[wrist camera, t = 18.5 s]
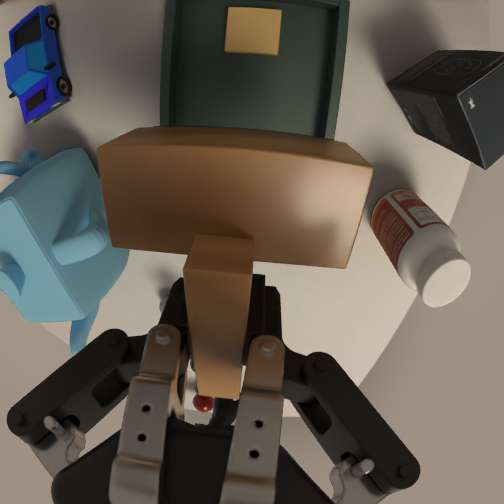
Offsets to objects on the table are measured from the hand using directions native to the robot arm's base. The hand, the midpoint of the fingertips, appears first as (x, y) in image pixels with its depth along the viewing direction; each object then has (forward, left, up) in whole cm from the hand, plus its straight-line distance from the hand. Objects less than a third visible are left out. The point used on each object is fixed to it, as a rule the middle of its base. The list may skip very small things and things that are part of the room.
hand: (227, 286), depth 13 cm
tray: (0, -6, -14) cm, 15 cm away
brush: (0, -2, -3) cm, 3 cm away
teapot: (+18, +5, -14) cm, 24 cm away
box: (-16, -12, -14) cm, 24 cm away
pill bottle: (-16, +1, -14) cm, 21 cm away
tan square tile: (0, -14, -13) cm, 19 cm away
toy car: (+21, -14, -14) cm, 29 cm away
